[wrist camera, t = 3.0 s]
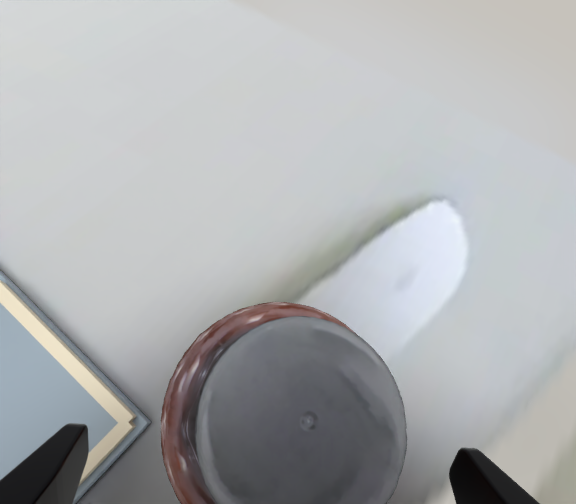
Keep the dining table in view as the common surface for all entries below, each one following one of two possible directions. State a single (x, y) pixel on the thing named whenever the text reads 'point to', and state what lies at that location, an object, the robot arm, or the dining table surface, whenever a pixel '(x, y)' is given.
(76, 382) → the board
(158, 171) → the dining table surface
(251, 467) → the supplement bottle
